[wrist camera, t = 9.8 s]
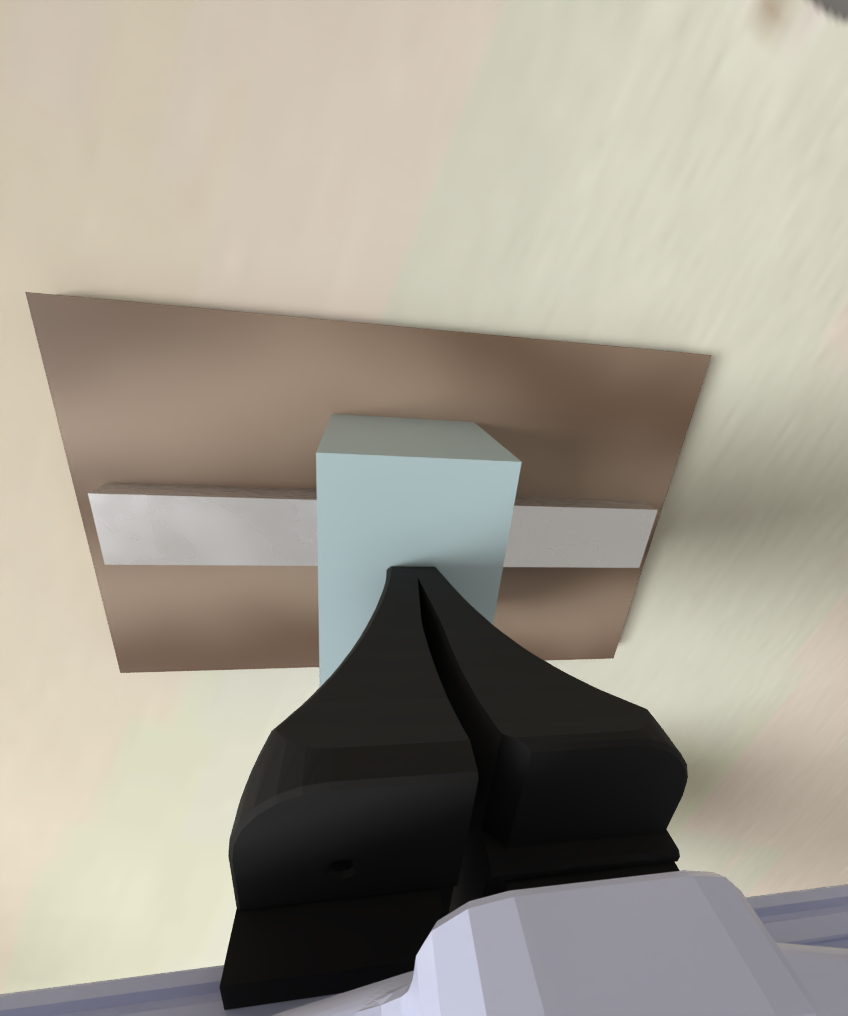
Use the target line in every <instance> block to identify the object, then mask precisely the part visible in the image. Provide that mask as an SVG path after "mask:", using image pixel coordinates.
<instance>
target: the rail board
mask: <svg viewBox="0 0 848 1016" xmlns="http://www.w3.org/2000/svg"><path fill="white" fill-rule="evenodd" d="M26 296H27V300H28V304H29V308H30V312H31V316H32V320H33V324H34V328H35V332H36V336H37V340H38V344H39V348H40V352H41V356H42V360H43V364H44V368H45V372H46V376H47V380H48V384H49V388H50V392H51V396H52V400H53V404H54V408H55V412H56V416H57V420H58V424H59V429H60V433H61V437H62V441H63V445H64V449H65V453H66V457H67V461H68V465H69V469H70V473H71V477H72V481H73V485H74V489H75V493H76V497H77V501H78V505H79V509H80V513H81V517H82V521H83V525H84V529H85V533H86V537H87V541H88V545H89V549H90V553H91V557H92V561H93V565H94V569H95V573H96V577H97V581H98V585H99V589H100V593H101V597H102V601H103V605H104V609H105V613H106V617H107V621H108V625H109V629H110V633H111V637H112V641H113V645H114V649H115V653H116V657H117V661H118V665H119V669H120V673H131V672H165V671H199V670H233V669H267V668H301V667H319V607H318V545H317V483H316V451H317V449H318V446H319V444H320V442H321V439H322V437H323V434H324V432H325V429H326V427H327V424H328V422H329V419H330V417H331V414H345V415H362V416H379V417H396V418H413V419H430V420H447V421H464V422H475V423H476V424H477V425H478V426H479V427H481V428H482V429H483V430H484V431H485V432H487V433H488V434H489V435H490V436H491V437H493V438H494V439H495V440H496V441H497V442H499V443H500V444H501V445H502V446H503V447H504V448H506V449H507V450H508V451H509V452H510V453H512V454H513V455H514V456H515V457H516V458H518V459H519V460H520V461H521V462H522V463H521V469H520V474H519V480H518V486H517V491H516V497H515V503H514V508H513V514H512V520H511V525H510V531H509V536H508V542H507V548H506V553H505V559H504V565H503V570H502V576H501V582H500V587H499V593H498V599H497V604H496V610H495V615H494V621H493V625H494V626H495V627H496V628H498V629H499V630H500V631H501V632H503V633H504V634H505V635H507V636H508V637H509V638H511V639H512V640H514V641H515V642H516V643H518V644H519V645H520V646H522V647H523V648H525V649H526V650H528V651H529V652H531V653H532V654H534V655H536V656H537V657H539V658H541V659H542V660H572V659H606V658H614V655H615V652H616V649H617V645H618V642H619V639H620V636H621V633H622V630H623V627H624V624H625V621H626V618H627V615H628V611H629V608H630V605H631V602H632V599H633V596H634V593H635V590H636V587H637V584H638V581H639V578H640V574H641V571H642V568H643V565H644V562H645V559H646V556H647V553H648V550H649V547H650V544H651V540H652V537H653V534H654V531H655V528H656V525H657V522H658V519H659V516H660V513H661V510H662V506H663V503H664V500H665V497H666V494H667V491H668V488H669V485H670V482H671V479H672V476H673V473H674V469H675V466H676V463H677V460H678V457H679V454H680V451H681V448H682V445H683V442H684V439H685V435H686V432H687V429H688V426H689V423H690V420H691V417H692V414H693V411H694V408H695V405H696V401H697V398H698V395H699V392H700V389H701V386H702V383H703V380H704V377H705V374H706V371H707V368H708V364H709V361H710V358H711V355H704V354H693V353H682V352H671V351H660V350H649V349H638V348H628V347H617V346H606V345H595V344H584V343H573V342H563V341H552V340H541V339H530V338H519V337H508V336H497V335H487V334H476V333H465V332H454V331H443V330H432V329H421V328H411V327H400V326H389V325H378V324H367V323H356V322H346V321H335V320H324V319H313V318H302V317H291V316H280V315H270V314H259V313H248V312H237V311H226V310H215V309H204V308H194V307H183V306H172V305H161V304H150V303H139V302H129V301H118V300H107V299H96V298H85V297H74V296H63V295H53V294H42V293H31V292H26Z"/></svg>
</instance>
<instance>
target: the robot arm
mask: <svg viewBox="0 0 848 1016" xmlns="http://www.w3.org/2000/svg"><path fill="white" fill-rule="evenodd" d="M687 778H688V775H687V764H686V762H685V760H684V759H683V757H682V755H681V753H680V752H679V751H678V749H677V748H676V746H675V745H674V744H673V742H672V741H671V740H670V738H669V737H668V736H667V734H666V733H665V732H664V730H663V729H662V728H661V726H660V725H659V724H658V722H657V721H656V720H655V718H654V717H653V716H652V715H651V714H650V712H649V711H648V710H647V709H645V708H643V707H640V706H638V705H635V704H633V703H630V702H628V701H626V700H623V699H621V698H618V697H616V696H613V695H611V694H609V693H606V692H604V691H601V690H599V689H597V688H595V687H593V686H591V685H589V684H587V683H585V682H583V681H581V680H579V679H577V678H575V677H573V676H571V675H569V674H567V673H565V672H563V671H561V670H559V669H558V668H556V667H554V666H552V665H551V664H549V663H547V662H546V661H544V660H542V659H541V658H539V657H537V656H536V655H534V654H532V653H531V652H529V651H528V650H526V649H525V648H523V647H522V646H520V645H519V644H518V643H516V642H515V641H514V640H512V639H511V638H509V637H508V636H507V635H505V634H504V633H503V632H501V631H500V630H499V629H498V628H496V627H495V626H494V625H493V624H491V623H490V622H489V621H488V620H487V619H486V618H485V617H483V616H482V615H481V614H480V613H479V612H478V611H477V610H476V609H475V608H474V607H472V606H471V605H470V604H469V603H468V602H467V601H466V600H465V599H464V598H463V597H462V596H461V595H460V593H459V592H458V591H457V590H456V589H455V588H454V587H453V586H452V585H451V584H450V583H449V582H448V580H447V579H446V578H445V577H444V576H443V575H442V574H441V573H440V571H439V570H438V569H437V568H436V567H410V566H391V567H389V568H388V569H387V570H386V581H385V585H384V588H383V591H382V594H381V597H380V599H379V602H378V604H377V606H376V609H375V611H374V613H373V614H372V616H371V618H370V620H369V622H368V624H367V626H366V628H365V630H364V631H363V633H362V635H361V636H360V638H359V639H358V641H357V642H356V644H355V645H354V647H353V648H352V650H351V651H350V652H349V654H348V655H347V656H346V658H345V659H344V660H343V662H342V663H341V664H340V665H339V667H338V668H337V669H336V670H335V671H334V673H333V674H332V675H331V676H330V677H329V678H328V679H327V680H326V681H325V682H324V683H323V684H322V686H321V687H320V688H319V689H318V690H317V691H316V692H315V693H314V694H313V695H312V696H311V697H310V698H309V699H308V700H307V701H306V702H305V703H304V704H303V705H302V706H300V707H299V708H298V709H297V710H296V711H295V712H293V713H292V714H291V715H290V716H289V717H288V718H287V719H285V720H284V721H283V722H282V723H281V724H280V725H278V726H277V727H276V728H275V729H274V730H272V731H271V733H270V735H269V737H268V739H267V741H266V743H265V745H264V747H263V748H262V750H261V752H260V754H259V756H258V758H257V761H256V763H255V765H254V767H253V769H252V771H251V774H250V776H249V779H248V781H247V784H246V786H245V789H244V791H243V794H242V797H241V800H240V803H239V806H238V810H237V814H236V817H235V821H234V825H233V829H232V833H231V836H230V842H229V862H230V868H231V875H232V881H233V887H234V893H235V900H236V906H237V910H236V914H235V919H234V923H233V928H232V932H231V937H230V941H229V946H228V950H227V955H226V959H225V964H224V965H223V966H215V967H207V968H200V969H192V970H184V971H176V972H169V973H161V974H153V975H146V976H138V977H130V978H123V979H115V980H107V981H99V982H92V983H84V984H76V985H69V986H61V987H53V988H46V989H38V990H30V991H23V992H15V993H7V994H0V1016H848V884H846V885H838V886H830V887H823V888H815V889H807V890H800V891H792V892H784V893H777V894H769V895H761V896H754V897H746V898H745V896H744V895H743V893H742V892H741V891H740V890H739V889H738V888H737V887H736V886H735V885H734V884H733V883H731V882H730V881H729V880H728V879H727V878H726V877H723V876H721V875H719V874H716V873H714V872H700V871H685V870H684V871H680V870H679V869H678V867H677V865H676V864H675V861H678V859H679V857H680V854H679V849H678V848H677V846H676V844H675V843H674V841H673V839H672V838H671V836H670V835H669V833H668V831H667V830H666V829H667V827H668V824H669V822H670V820H671V818H672V816H673V814H674V812H675V810H676V808H677V806H678V804H679V802H680V800H681V798H682V796H683V792H684V789H685V786H686V783H687Z"/></svg>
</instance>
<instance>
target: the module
mask: <svg viewBox="0 0 848 1016" xmlns="http://www.w3.org/2000/svg"><path fill="white" fill-rule="evenodd" d="M521 463H522V462H521V461H520V460H519V459H518V458H516V457H515V456H514V455H513V454H512V453H510V452H509V451H508V450H507V449H506V448H504V447H503V446H502V445H501V444H500V443H499V442H497V441H496V440H495V439H494V438H493V437H491V436H490V435H489V434H488V433H487V432H485V431H484V430H483V429H482V428H481V427H479V426H478V425H477V424H476V423H475V422H464V421H447V420H430V419H413V418H396V417H379V416H362V415H345V414H331V417H330V419H329V422H328V424H327V427H326V429H325V432H324V434H323V437H322V439H321V442H320V444H319V446H318V449H317V451H316V483H317V545H318V607H319V669H320V687H321V686H322V684H323V683H324V682H325V681H326V680H327V679H328V678H329V677H330V676H331V675H332V674H333V673H334V671H335V670H336V669H337V668H338V667H339V665H340V664H341V663H342V662H343V660H344V659H345V658H346V656H347V655H348V654H349V652H350V651H351V650H352V648H353V647H354V645H355V644H356V642H357V641H358V639H359V638H360V636H361V635H362V633H363V631H364V630H365V628H366V626H367V624H368V622H369V620H370V618H371V616H372V614H373V613H374V611H375V609H376V606H377V604H378V602H379V599H380V597H381V594H382V591H383V588H384V585H385V581H386V570H387V569H388V568H389V567H391V566H410V567H436V568H437V569H438V570H439V571H440V573H441V574H442V575H443V576H444V577H445V578H446V579H447V580H448V582H449V583H450V584H451V585H452V586H453V587H454V588H455V589H456V590H457V591H458V592H459V593H460V595H461V596H462V597H463V598H464V599H465V600H466V601H467V602H468V603H469V604H470V605H471V606H472V607H474V608H475V609H476V610H477V611H478V612H479V613H480V614H481V615H482V616H483V617H485V618H486V619H487V620H488V621H489V622H490V623H491V624H493V621H494V615H495V610H496V604H497V599H498V593H499V587H500V582H501V576H502V570H503V565H504V559H505V553H506V548H507V542H508V536H509V531H510V525H511V520H512V514H513V508H514V503H515V497H516V491H517V486H518V480H519V474H520V469H521Z"/></svg>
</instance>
